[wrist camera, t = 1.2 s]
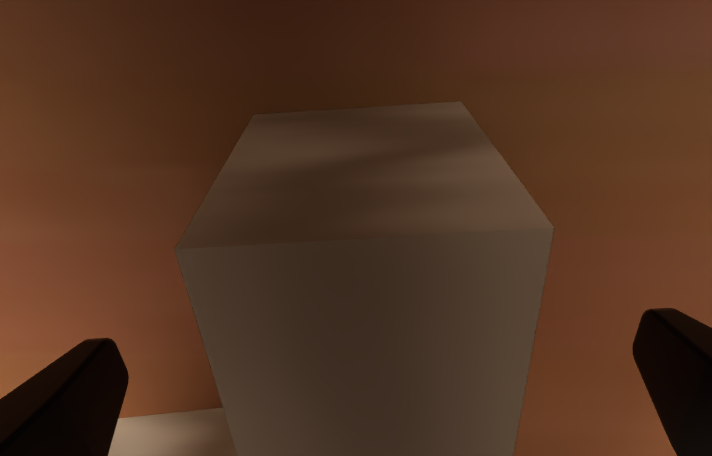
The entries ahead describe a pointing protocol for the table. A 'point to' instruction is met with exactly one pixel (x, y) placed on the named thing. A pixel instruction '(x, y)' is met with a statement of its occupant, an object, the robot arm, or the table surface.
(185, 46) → the table surface
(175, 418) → the cream flat block
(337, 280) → the grey-brown block
